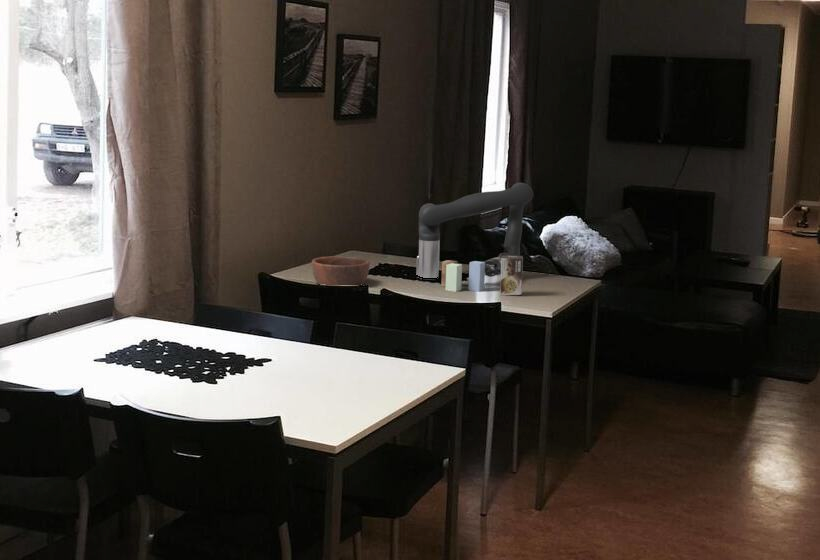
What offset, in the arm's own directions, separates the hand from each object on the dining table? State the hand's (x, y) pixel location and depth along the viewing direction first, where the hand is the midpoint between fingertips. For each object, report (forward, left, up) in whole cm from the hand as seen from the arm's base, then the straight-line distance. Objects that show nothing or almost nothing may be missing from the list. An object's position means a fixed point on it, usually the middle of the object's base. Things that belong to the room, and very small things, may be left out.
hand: (478, 272), depth 468 cm
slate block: (0, -2, -8) cm, 8 cm away
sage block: (-8, -8, -8) cm, 13 cm away
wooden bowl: (-54, -25, -8) cm, 60 cm away
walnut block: (-13, -2, -8) cm, 15 cm away
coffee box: (+16, -2, -8) cm, 18 cm away
